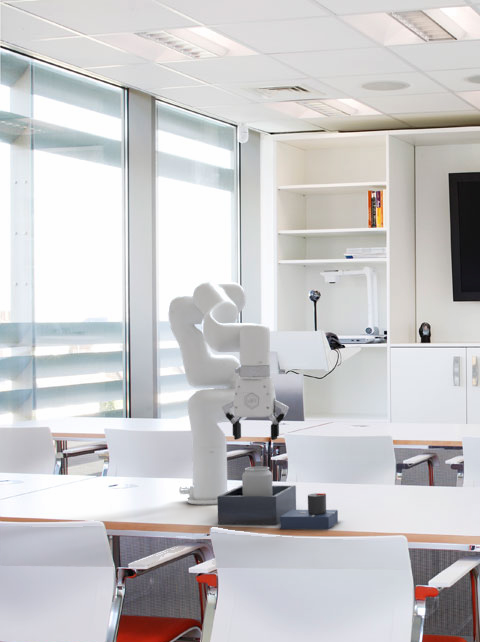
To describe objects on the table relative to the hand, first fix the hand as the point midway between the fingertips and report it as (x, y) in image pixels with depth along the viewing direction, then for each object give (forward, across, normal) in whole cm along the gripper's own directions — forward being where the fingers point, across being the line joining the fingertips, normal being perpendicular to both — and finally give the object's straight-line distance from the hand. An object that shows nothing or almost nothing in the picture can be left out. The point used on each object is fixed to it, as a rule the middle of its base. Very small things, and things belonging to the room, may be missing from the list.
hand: (255, 439), depth 254 cm
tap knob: (+17, +19, -10) cm, 27 cm away
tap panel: (+20, +17, -10) cm, 28 cm away
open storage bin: (+20, +1, -1) cm, 20 cm away
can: (+19, +1, -1) cm, 19 cm away
